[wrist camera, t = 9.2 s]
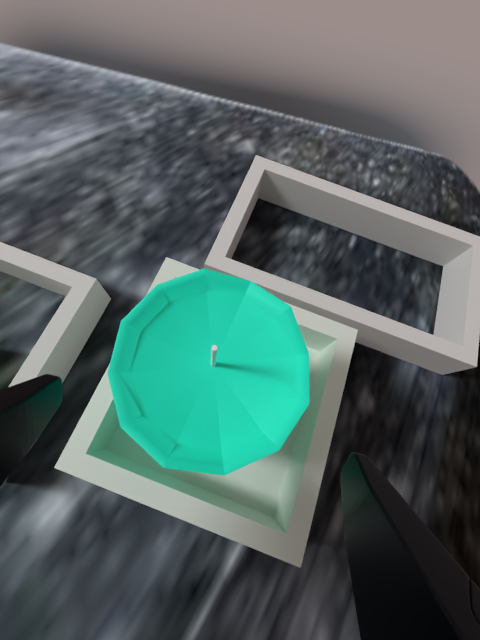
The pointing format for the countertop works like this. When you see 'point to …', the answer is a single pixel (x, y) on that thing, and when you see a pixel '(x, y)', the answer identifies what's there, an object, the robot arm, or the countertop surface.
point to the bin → (243, 484)
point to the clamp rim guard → (57, 312)
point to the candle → (209, 373)
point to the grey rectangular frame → (383, 227)
